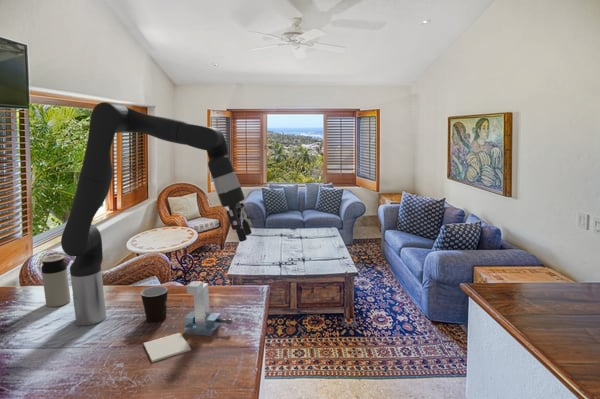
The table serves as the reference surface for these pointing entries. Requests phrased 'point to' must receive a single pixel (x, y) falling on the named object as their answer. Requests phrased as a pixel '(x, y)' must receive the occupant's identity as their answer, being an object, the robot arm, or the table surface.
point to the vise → (208, 330)
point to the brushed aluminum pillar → (200, 301)
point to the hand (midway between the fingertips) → (246, 237)
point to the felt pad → (166, 347)
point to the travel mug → (55, 280)
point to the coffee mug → (155, 303)
